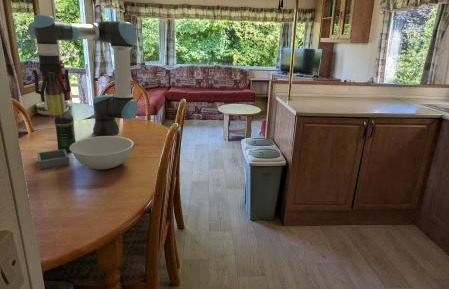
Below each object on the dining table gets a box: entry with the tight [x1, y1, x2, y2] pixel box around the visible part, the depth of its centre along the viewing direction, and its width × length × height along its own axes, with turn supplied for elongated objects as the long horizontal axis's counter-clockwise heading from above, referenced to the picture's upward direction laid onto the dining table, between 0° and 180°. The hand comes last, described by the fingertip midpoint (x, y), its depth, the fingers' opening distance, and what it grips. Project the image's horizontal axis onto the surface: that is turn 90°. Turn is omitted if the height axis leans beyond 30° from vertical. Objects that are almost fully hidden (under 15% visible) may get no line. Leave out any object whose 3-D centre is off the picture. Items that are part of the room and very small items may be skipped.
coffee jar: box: [54, 113, 77, 153], centre depth 159 cm, size 10×8×19 cm
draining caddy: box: [37, 149, 70, 171], centre depth 144 cm, size 12×13×4 cm
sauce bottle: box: [44, 72, 65, 119], centre depth 137 cm, size 6×6×20 cm
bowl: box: [69, 135, 135, 170], centre depth 143 cm, size 27×27×10 cm
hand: (55, 108), depth 139 cm, fingers closed on sauce bottle, 6 cm apart
